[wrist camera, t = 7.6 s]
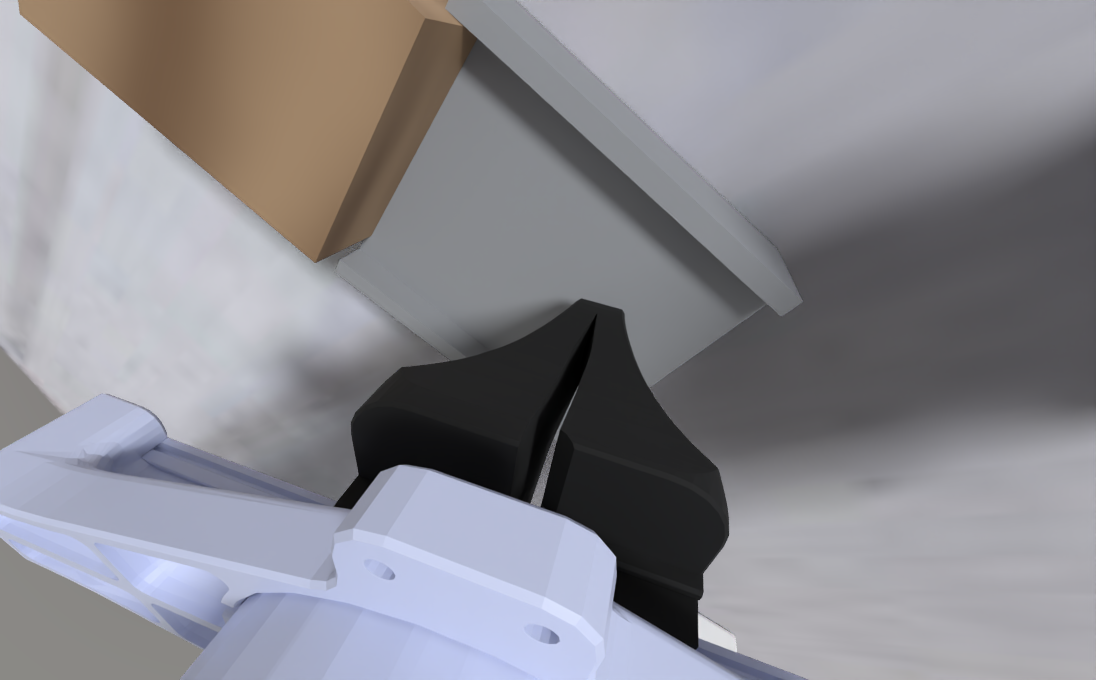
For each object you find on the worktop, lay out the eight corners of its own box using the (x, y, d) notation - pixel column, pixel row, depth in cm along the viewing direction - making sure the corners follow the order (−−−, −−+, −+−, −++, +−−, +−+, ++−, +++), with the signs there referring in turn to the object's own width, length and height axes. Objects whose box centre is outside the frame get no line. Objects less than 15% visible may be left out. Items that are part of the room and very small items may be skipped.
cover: (482, 29, 10) (425, 17, 8) (371, 235, 14) (315, 262, 12) (144, -316, 8) (-31, -440, 6) (130, 24, 12) (19, 13, 10)
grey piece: (777, 249, 13) (803, 302, 10) (593, 393, 18) (575, 455, 15) (516, 0, 11) (457, -22, 9) (395, 236, 17) (334, 271, 14)
